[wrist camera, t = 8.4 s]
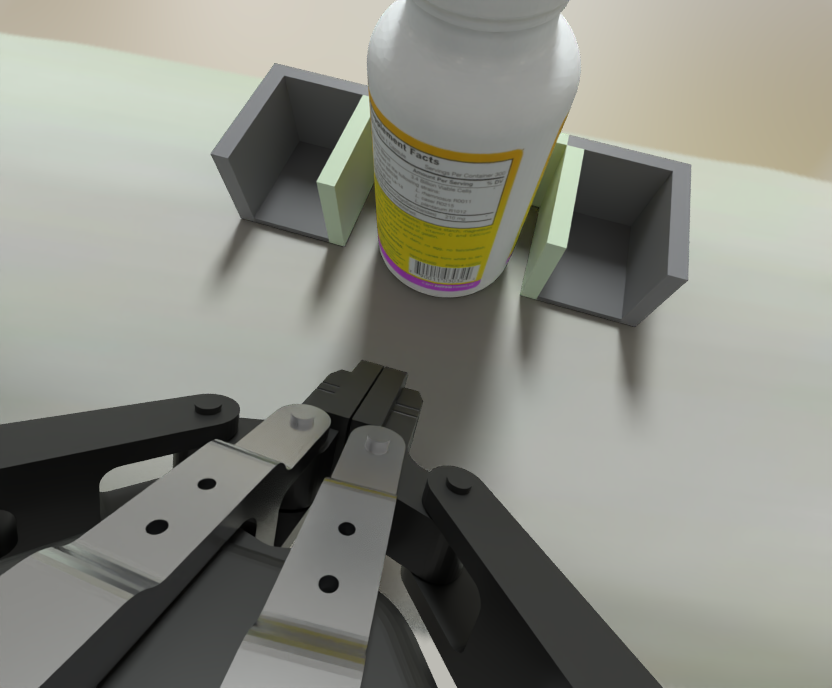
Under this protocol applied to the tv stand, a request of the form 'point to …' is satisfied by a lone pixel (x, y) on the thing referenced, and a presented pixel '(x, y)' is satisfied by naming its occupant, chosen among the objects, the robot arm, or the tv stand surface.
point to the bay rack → (556, 196)
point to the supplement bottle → (464, 131)
